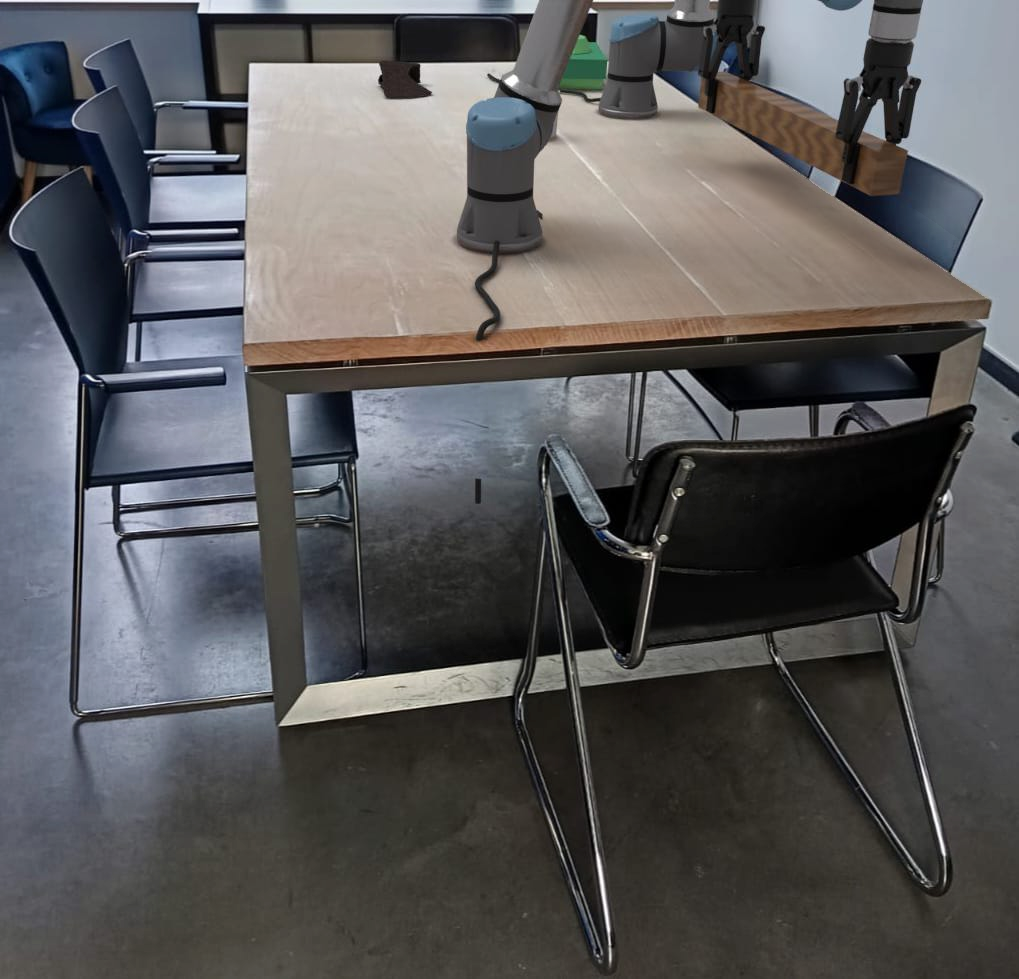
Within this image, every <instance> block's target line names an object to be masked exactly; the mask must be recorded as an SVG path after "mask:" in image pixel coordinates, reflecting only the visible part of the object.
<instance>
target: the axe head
mask: <svg viewBox="0 0 1019 979" xmlns="http://www.w3.org/2000/svg"><path fill="white" fill-rule="evenodd" d="M378 66H379V68H380V72H381V74H379V75H378V79H377V84H378V85H379V86H380V87H381V88H382V89H383V95H384V96H385V97H388V98H394V99H395V98H396V99H403V98H405V99H406V98H407V99H411V98H418V97H425V96H429V95H432V94H433V91H431V90H430V89H428V88H427V87H425V86H422V85H421V84H422V82H421V63H419V62H410V61H408V62H407V61H397V60H388V59H387V60H380V61H379V62H378Z"/></svg>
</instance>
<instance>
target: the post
mask: <svg viewBox="0 0 1019 979" xmlns="http://www.w3.org/2000/svg"><path fill="white" fill-rule="evenodd" d="M715 80H716V81H718V89H717V97H716V105H715V113H710V112H708V111H706V105H707V96H706V95H705V93H704V92H705V83H706V79H705V78H703V77H701V76H700V86H699V95H698V102H697V103H698V104H697V108H698V109H700V110H703V111H704V112H706V113H708V114H709V115H712V116H713V117H716V118H718V119H720V120H722V121H724V122H726V123H728V124H730V125H731V126H734V127H735V128H737V129H739V130H742V131H744V132H746V133H747V134H750V135H752V136H753V137H755V138H756V139H759V140H761V141H763V142H765V143H767V144H769V145H770V146H773V147H775V148H777V149H778V150H780V151H782V152H784V153H786V154H788V155H790V156H792V157H794V158H796V159H797V160H800V161H802V162H804V163H805V164H808V165H810V166H811V167H813V168H816V169H818V170H819V171H821V172H823V173H825V174H827V175H829V176H830V177H833V178H835V179H837V180H839V181H841V182H842V183H845V184H846V185H849V186H850V187H852V188H854V189H857V190H858V191H860V192H862V193H864V194H866V195H868V196H869V197H878V196H892V195H900V192H901V187H902V183H903V178H904V173H905V169H906V164H907V158H908V153H909V150H908V149H906V148H904V147H901V146H899V145H898V144H896V145H894V144H892V143H890V142H887V141H886V139H882V138H880V137H877V136H876V135H874V134H871V133H869V132H866V131H865V130H863V131H862V133H861V135H860V138H859V140H858V142H857V144H858V145H860V146H861V148H860V153H859V158H858V164H857V169H856V174H855V179H854V184H848V183H847V182H845V181H843V180H842V174H843V169H844V162H842V156H843V150H844V142H843V141H841V140H839V139H837V138H836V137H835V134H836V130H837V125H838V120H839V119H836V118H834V117H832V116H830V115H827V114H825V113H822V112H820V111H817V110H815V109H813V108H811V107H808V106H806V105H803V104H801V103H799V102H797V101H795V100H792V99H790V98H788V97H785V96H784V95H781V94H778V93H776V92H774V91H771V90H768V89H766V88H764V87H762V86H760V85H758V84H755V83H752V82H751V81H746V80H744V79H741V77H740V76H739V77H738V76H736V75H735V74H732V73H729V72H727V71H726V70H725V71H724V70H723V71H718V73H717V75H716V78H715Z"/></svg>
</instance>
